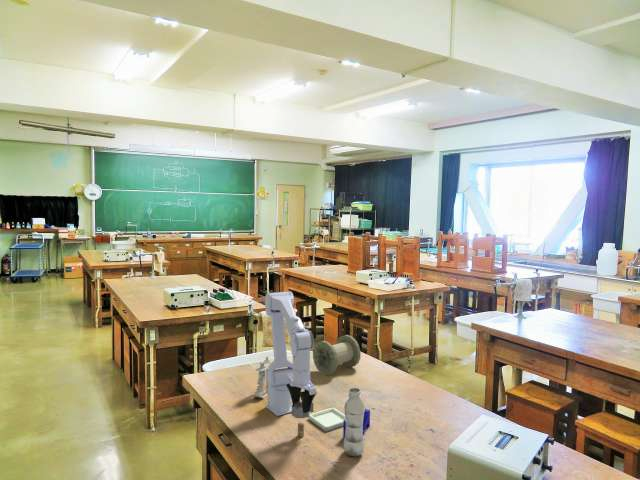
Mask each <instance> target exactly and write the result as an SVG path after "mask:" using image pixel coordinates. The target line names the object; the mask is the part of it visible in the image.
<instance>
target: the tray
mask: <svg viewBox="0 0 640 480" xmlns="http://www.w3.org/2000/svg"><path fill="white" fill-rule="evenodd" d="M307 419H308V420H309V421H311V422H312V423H313V424H314V425H316V426H318V427H319V428H320V429H321V430H323V431H324V432H329V431H332V430H336V429H338V428H341V427H343V420H345V413H343V412H342V411H340V410H338V409H336V408H335V407H329V408H326V409H323V410H320V411H317V412H314V413H313V412H312V413H310V415H309V417H307Z"/></svg>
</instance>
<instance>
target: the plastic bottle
mask: <svg viewBox="0 0 640 480" xmlns="http://www.w3.org/2000/svg"><path fill="white" fill-rule="evenodd" d="M361 397H362V395H361V389H360V388H357V387H352V388H349V389H348V399H347V400H346V401H345V403H344V407H343V410H344V415H345V419H346V430H345V438H344V439H343V451H344V452H345V454H346V455H348V456H349V457H359V456H361V455H362V454H363V452H364V450H365V439H364V435H363V418H364V411H365V409H366V407H365V404H364V402H363V400H362V398H361Z"/></svg>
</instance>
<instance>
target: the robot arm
mask: <svg viewBox="0 0 640 480" xmlns="http://www.w3.org/2000/svg"><path fill="white" fill-rule="evenodd" d="M294 304H295V297H294V294H293V292H292V291H290V290H289V291H279V292H267V293H266V294H265V297H264V305H265V306H264V307H265V308H264V309H265V310H264V311H265V314H266V315H267V316H268V317H269V318H270V323H271V324H270V325H271V333H272V335H271V336H272V346H273V347H272V348H273V350H272V351H273V360H272V362H271V363H270V364H269V365H267V366H268V374H267V381H268V385H269V388H268V395H267V404H266V405H265V408H267V409H268V410H269V411H270V412H272V413H273V414H274V415H275V416H276V417H279V416H282V415H285V414H289V413H292V404H293V403H296V402H299V401H300V402H302V410H303V413H307V412H309V411H310V407H311V404H312V402H313V401H314V399H315V397H316V395H317V387H316V386H314V384H313V383H312V381H311V350H312V349H313V348H314V336H313V333H312V331H311V330H308V329H306V328H305V325H304V324H303V322H302V319H301V318H300V317H299V316H296V313H295V310H294ZM284 321H285V322H284ZM285 328H286V331H287V333H288V335H289V341H290V342H289V344H290V349H291V350H290V351H291V355H292V361H291V360H289V359H288V354H287V353H288V352H287V343H286V332H285ZM302 390H304V391H302Z"/></svg>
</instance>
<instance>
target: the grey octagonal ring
mask: <svg viewBox="0 0 640 480" xmlns="http://www.w3.org/2000/svg"><path fill="white" fill-rule="evenodd" d="M291 406H292V412H291V416H292V417H293V418H295V419H304V418H305V419H306V418H308V417H309V415H310V414H312V413H313V412H314V402H313V401H312V404H311V407H310V411H309V412H307V413H303V410H302V401H301V400H300V401H299V402H296V403H292V404H291Z"/></svg>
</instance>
